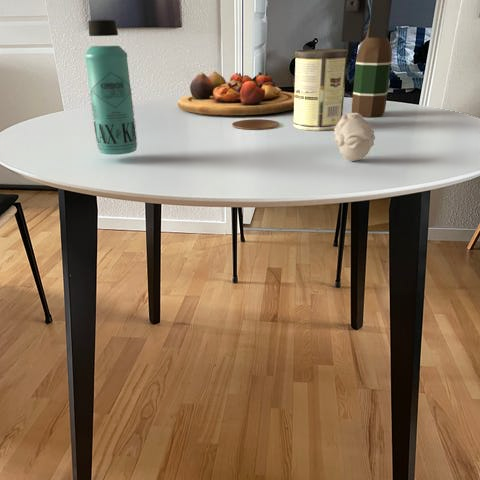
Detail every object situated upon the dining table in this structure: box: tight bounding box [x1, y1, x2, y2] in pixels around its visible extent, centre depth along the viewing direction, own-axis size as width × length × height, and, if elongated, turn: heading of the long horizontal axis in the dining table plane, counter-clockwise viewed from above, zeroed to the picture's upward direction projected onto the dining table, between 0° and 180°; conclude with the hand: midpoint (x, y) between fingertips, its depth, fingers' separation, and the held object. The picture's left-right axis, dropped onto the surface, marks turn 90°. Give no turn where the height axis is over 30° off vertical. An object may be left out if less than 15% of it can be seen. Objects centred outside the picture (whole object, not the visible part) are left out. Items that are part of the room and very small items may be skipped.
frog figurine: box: [333, 112, 376, 162], centre depth 78 cm, size 6×7×7 cm
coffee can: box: [292, 48, 349, 132], centre depth 101 cm, size 10×10×14 cm
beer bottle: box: [351, 21, 393, 118], centre depth 110 cm, size 8×8×24 cm
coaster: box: [232, 118, 280, 131], centre depth 107 cm, size 10×10×1 cm
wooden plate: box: [177, 71, 295, 116], centre depth 126 cm, size 32×32×8 cm
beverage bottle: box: [84, 18, 139, 156], centre depth 77 cm, size 6×7×20 cm
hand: (365, 39), depth 70 cm, fingers open, 13 cm apart
